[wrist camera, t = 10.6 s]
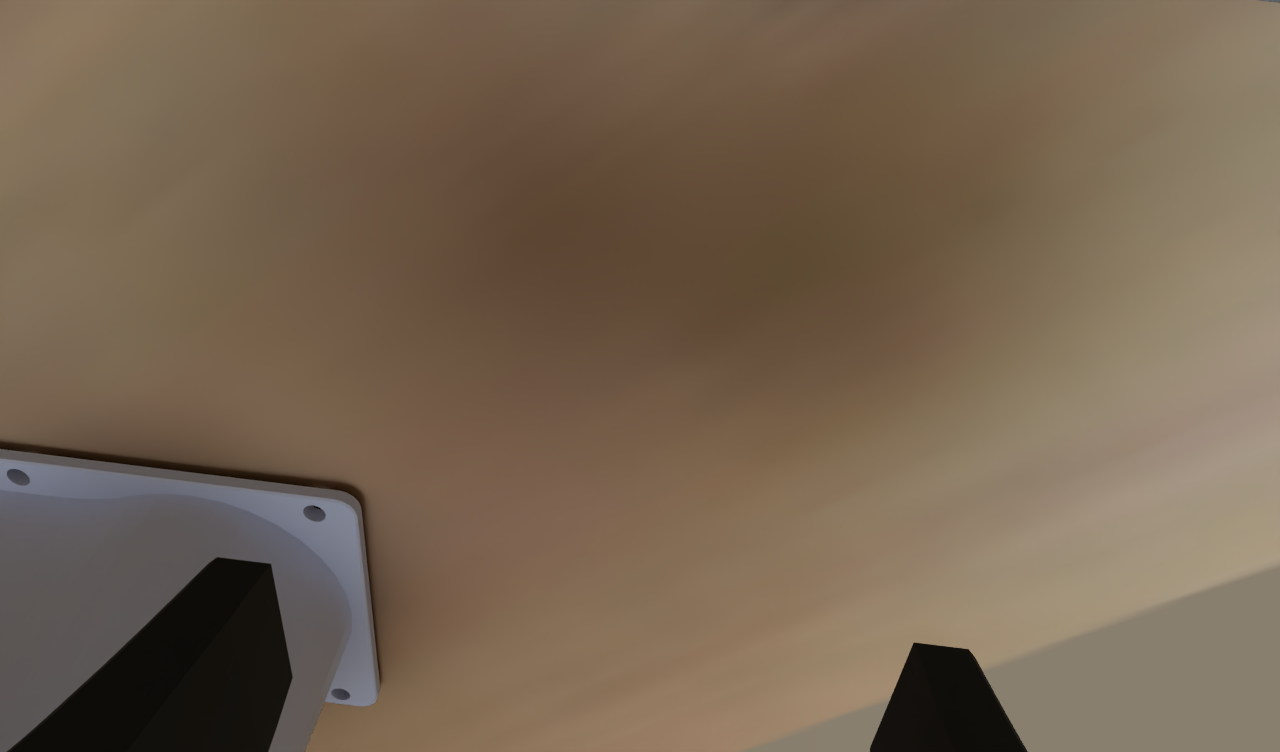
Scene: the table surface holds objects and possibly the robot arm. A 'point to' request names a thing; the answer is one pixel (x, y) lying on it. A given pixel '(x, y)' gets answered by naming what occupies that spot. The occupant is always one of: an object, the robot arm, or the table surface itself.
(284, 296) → the table surface
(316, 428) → the table surface
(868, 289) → the table surface
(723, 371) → the table surface
